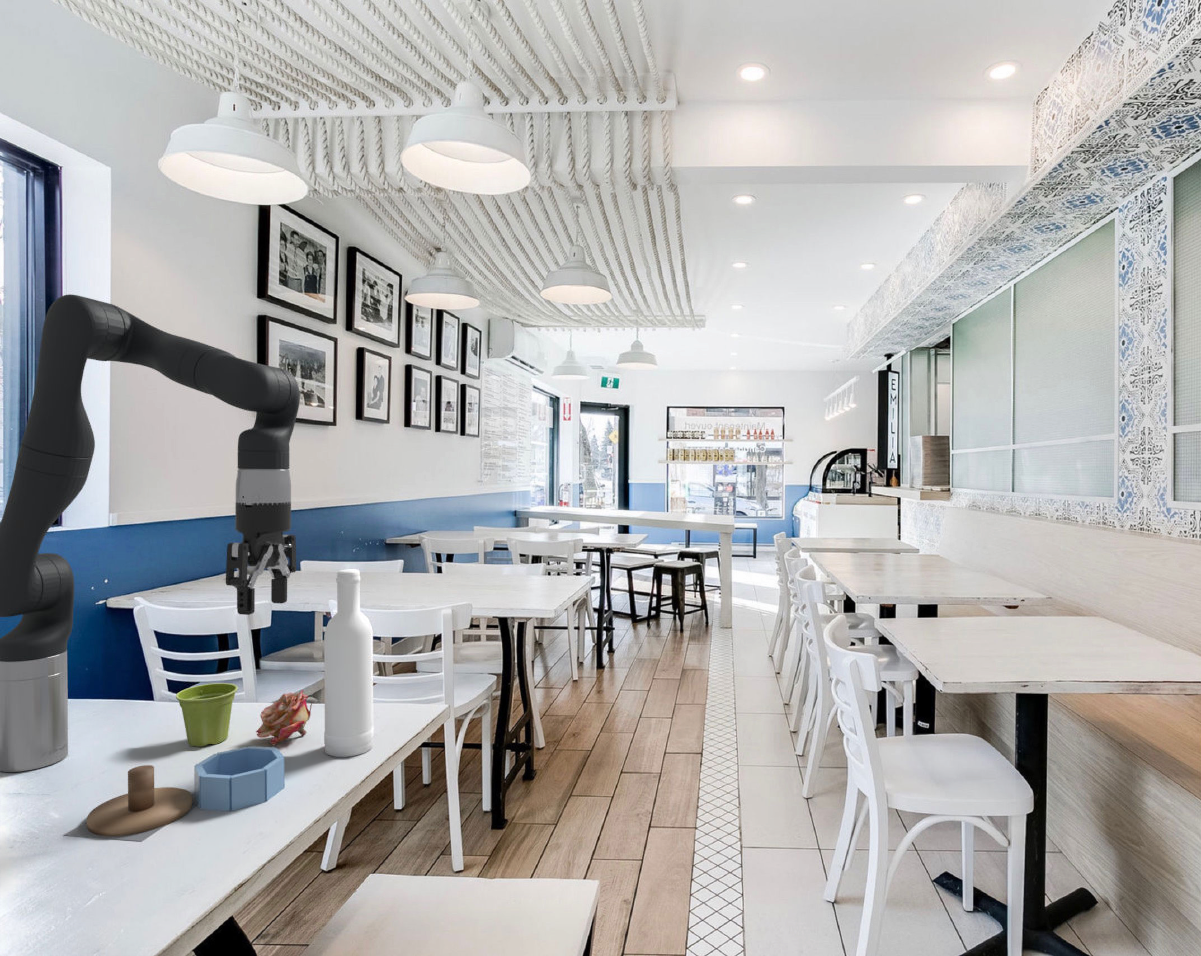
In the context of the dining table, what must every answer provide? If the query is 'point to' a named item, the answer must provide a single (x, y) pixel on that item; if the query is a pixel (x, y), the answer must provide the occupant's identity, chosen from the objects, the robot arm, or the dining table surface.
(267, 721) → the flower
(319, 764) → the dining table surface
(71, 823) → the dining table surface
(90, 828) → the lid
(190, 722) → the plant pot
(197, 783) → the bowl
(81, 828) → the mat
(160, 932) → the dining table surface
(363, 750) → the bottle
